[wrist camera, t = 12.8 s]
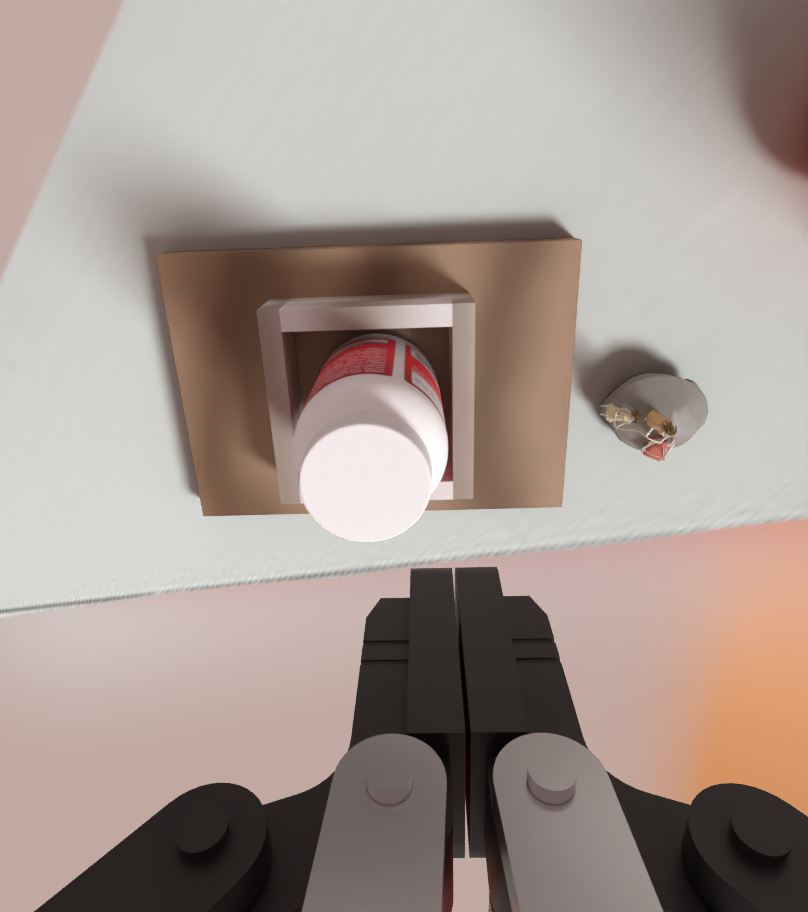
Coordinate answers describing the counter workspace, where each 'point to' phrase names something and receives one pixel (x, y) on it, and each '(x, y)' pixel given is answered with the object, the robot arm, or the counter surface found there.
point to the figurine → (655, 412)
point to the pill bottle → (371, 439)
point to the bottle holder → (376, 312)
